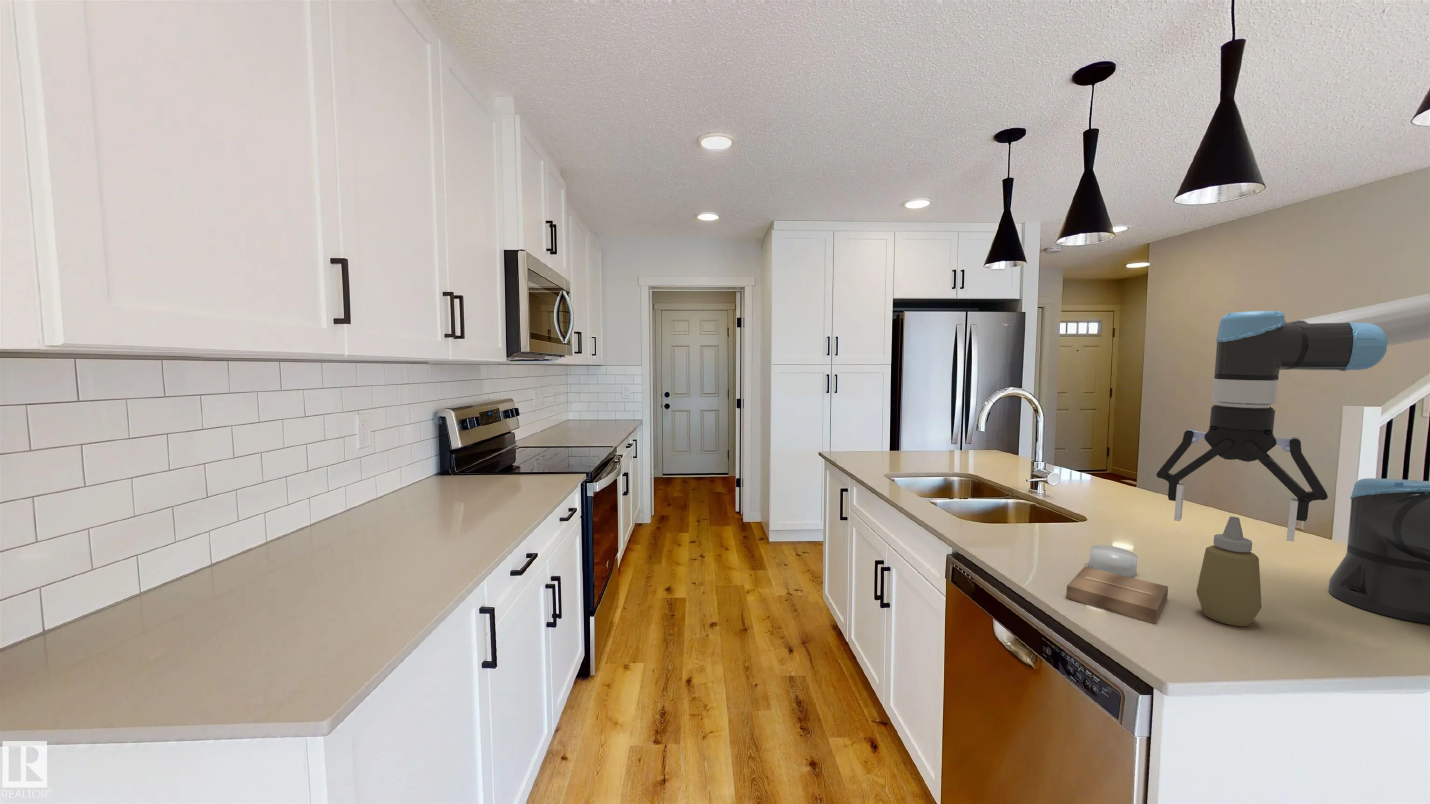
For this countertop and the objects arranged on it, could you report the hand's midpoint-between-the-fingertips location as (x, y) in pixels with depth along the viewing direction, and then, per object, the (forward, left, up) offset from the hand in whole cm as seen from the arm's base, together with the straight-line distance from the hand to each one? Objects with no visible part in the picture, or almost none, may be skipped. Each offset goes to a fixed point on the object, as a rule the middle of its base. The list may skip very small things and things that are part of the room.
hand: (1230, 528), depth 88 cm
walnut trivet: (+14, +4, -16) cm, 22 cm away
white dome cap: (+18, -11, -16) cm, 26 cm away
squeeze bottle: (0, 0, -16) cm, 16 cm away
